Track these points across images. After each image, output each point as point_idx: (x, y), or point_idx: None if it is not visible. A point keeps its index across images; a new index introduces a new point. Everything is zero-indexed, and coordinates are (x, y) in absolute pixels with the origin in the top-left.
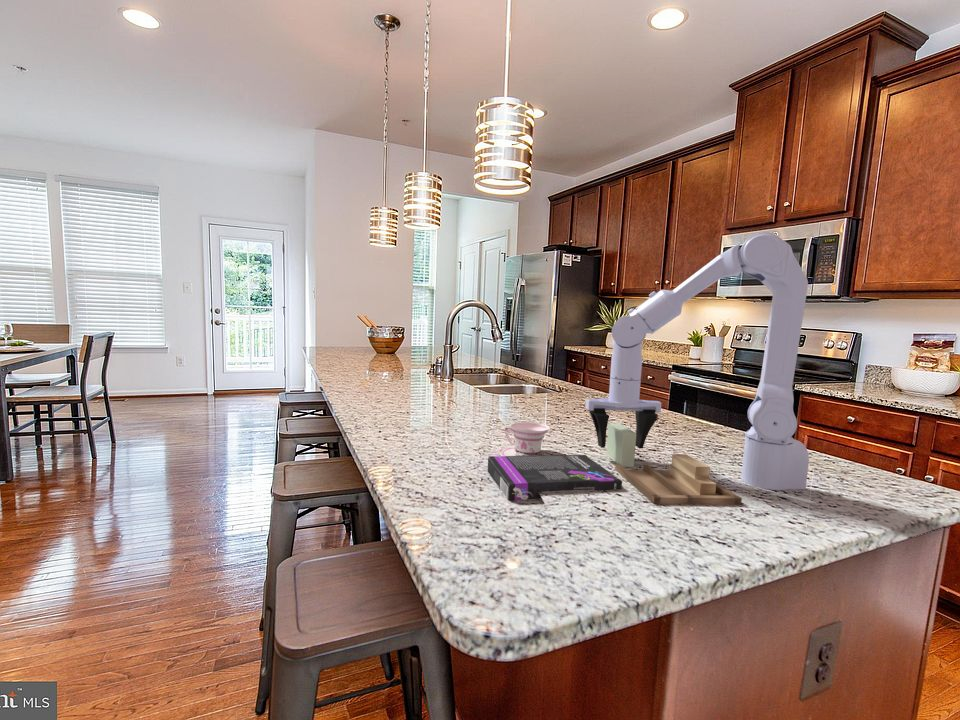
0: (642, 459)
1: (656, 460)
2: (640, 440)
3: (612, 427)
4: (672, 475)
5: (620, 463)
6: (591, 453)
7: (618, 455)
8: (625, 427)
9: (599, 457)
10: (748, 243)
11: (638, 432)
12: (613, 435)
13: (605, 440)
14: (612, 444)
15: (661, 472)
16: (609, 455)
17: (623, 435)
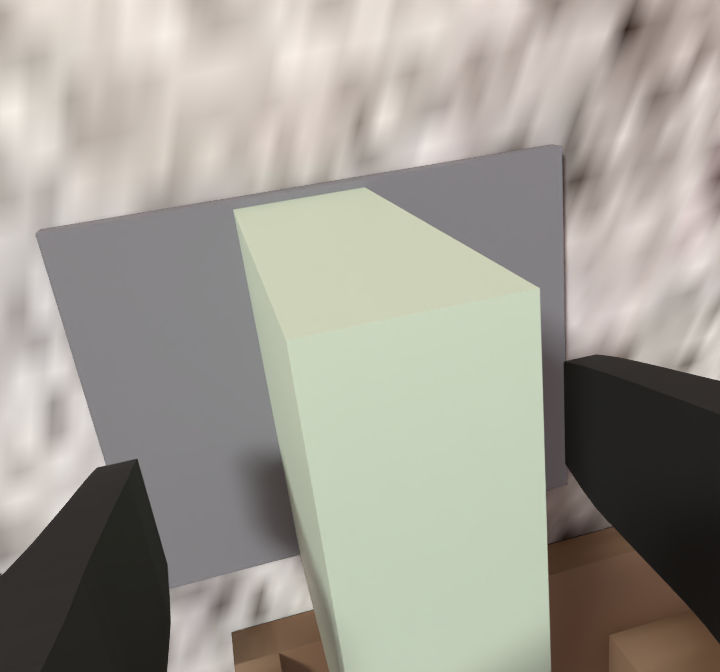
0: (603, 146)
1: (717, 151)
2: (619, 514)
3: (318, 529)
4: (612, 668)
5: (306, 575)
6: (76, 8)
7: (306, 564)
8: (526, 574)
9: (163, 171)
10: None
11: (681, 477)
12: (307, 518)
13: (163, 657)
14: (285, 435)
15: (573, 613)
16: (255, 313)
17: None
